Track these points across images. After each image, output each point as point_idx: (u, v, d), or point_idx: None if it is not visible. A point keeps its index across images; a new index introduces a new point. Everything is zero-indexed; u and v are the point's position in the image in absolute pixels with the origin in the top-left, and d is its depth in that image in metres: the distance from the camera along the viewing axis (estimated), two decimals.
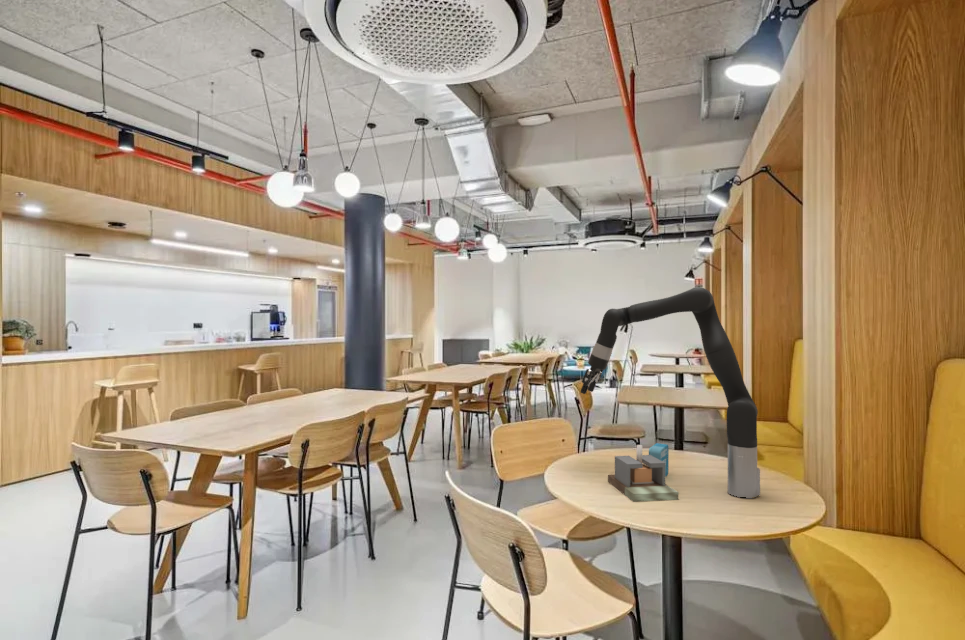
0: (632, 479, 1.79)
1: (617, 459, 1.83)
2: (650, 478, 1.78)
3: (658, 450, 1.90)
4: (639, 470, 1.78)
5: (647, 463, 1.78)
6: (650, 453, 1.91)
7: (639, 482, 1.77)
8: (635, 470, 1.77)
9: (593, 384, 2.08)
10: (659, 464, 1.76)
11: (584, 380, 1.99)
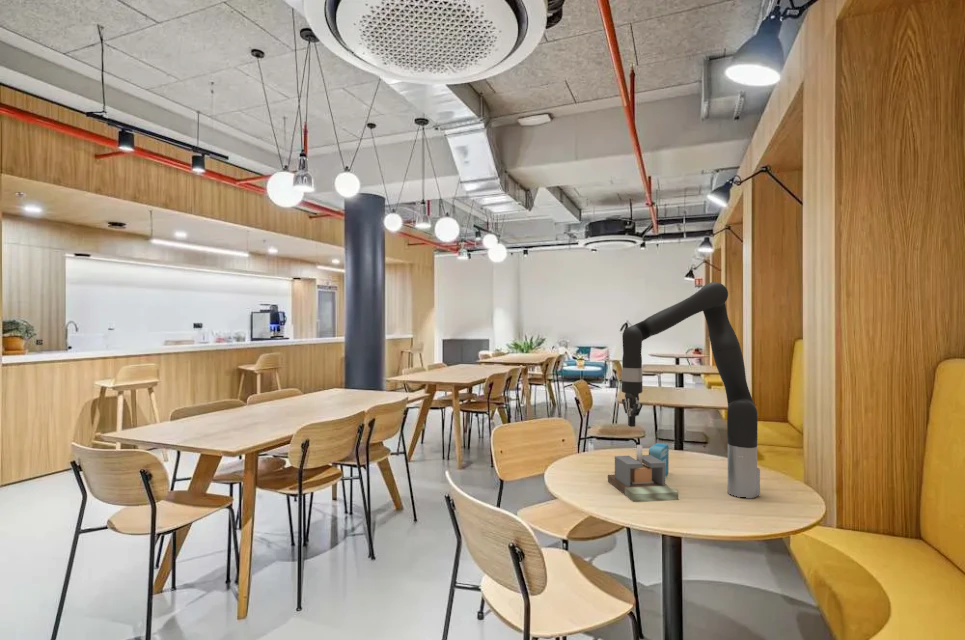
0: (632, 479, 1.79)
1: (617, 459, 1.83)
2: (650, 478, 1.78)
3: (658, 450, 1.90)
4: (639, 470, 1.78)
5: (647, 463, 1.78)
6: (650, 453, 1.91)
7: (639, 482, 1.77)
8: (635, 470, 1.77)
9: None
10: (659, 464, 1.76)
11: None
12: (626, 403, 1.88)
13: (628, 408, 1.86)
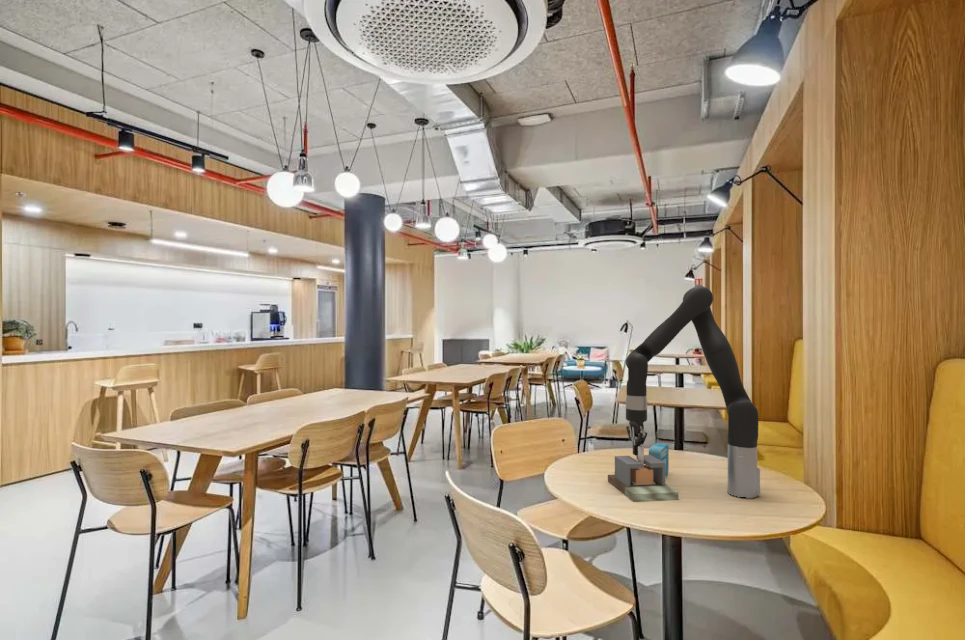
0: (633, 480, 1.78)
1: (617, 459, 1.83)
2: (652, 479, 1.77)
3: (658, 450, 1.90)
4: (641, 470, 1.76)
5: (647, 463, 1.78)
6: (650, 453, 1.91)
7: (640, 483, 1.76)
8: (636, 471, 1.76)
9: None
10: (659, 464, 1.76)
11: None
12: (630, 431, 1.84)
13: (633, 436, 1.82)
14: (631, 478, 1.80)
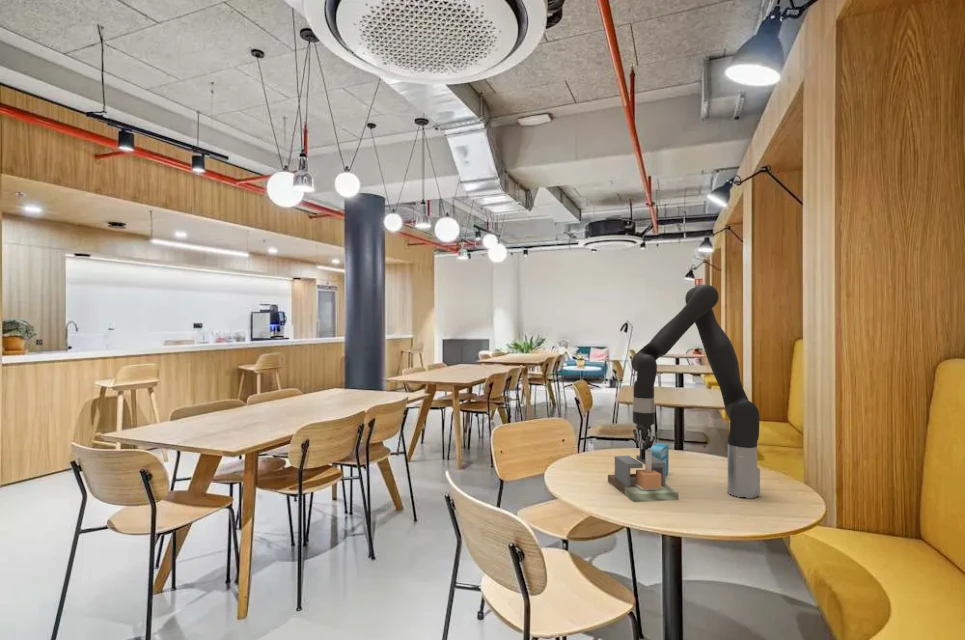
0: (641, 485, 1.72)
1: (617, 459, 1.83)
2: (660, 484, 1.71)
3: (658, 450, 1.90)
4: (648, 475, 1.71)
5: None
6: None
7: (648, 488, 1.71)
8: (644, 476, 1.71)
9: None
10: (659, 464, 1.76)
11: None
12: (638, 434, 1.78)
13: (640, 440, 1.77)
14: (638, 483, 1.74)
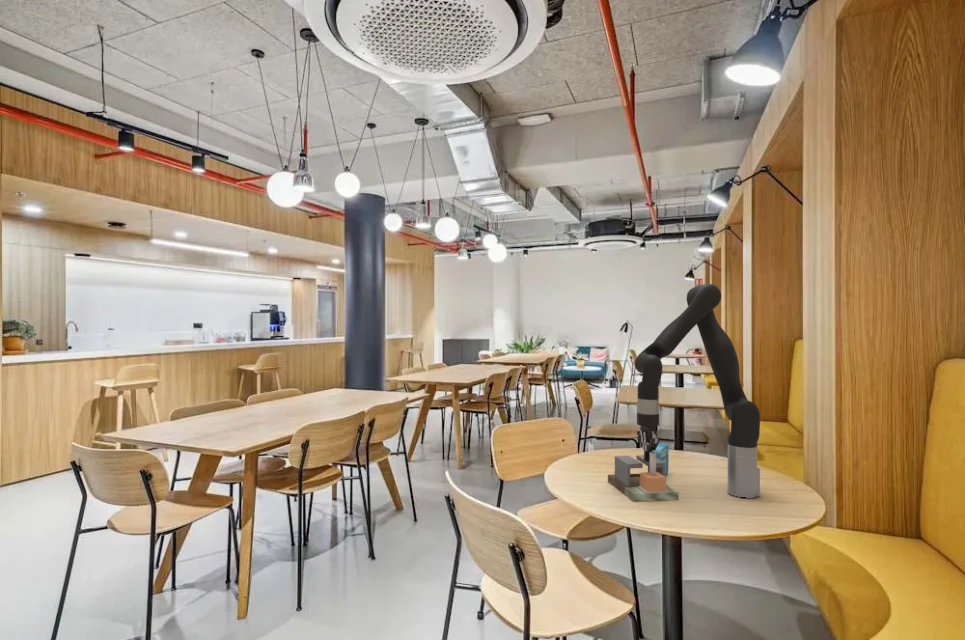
0: (645, 488, 1.69)
1: (617, 459, 1.83)
2: (664, 487, 1.68)
3: (658, 450, 1.90)
4: (653, 478, 1.68)
5: (647, 463, 1.78)
6: None
7: (653, 491, 1.68)
8: (648, 479, 1.67)
9: None
10: (659, 464, 1.76)
11: None
12: (642, 436, 1.75)
13: (644, 442, 1.74)
14: (642, 486, 1.71)
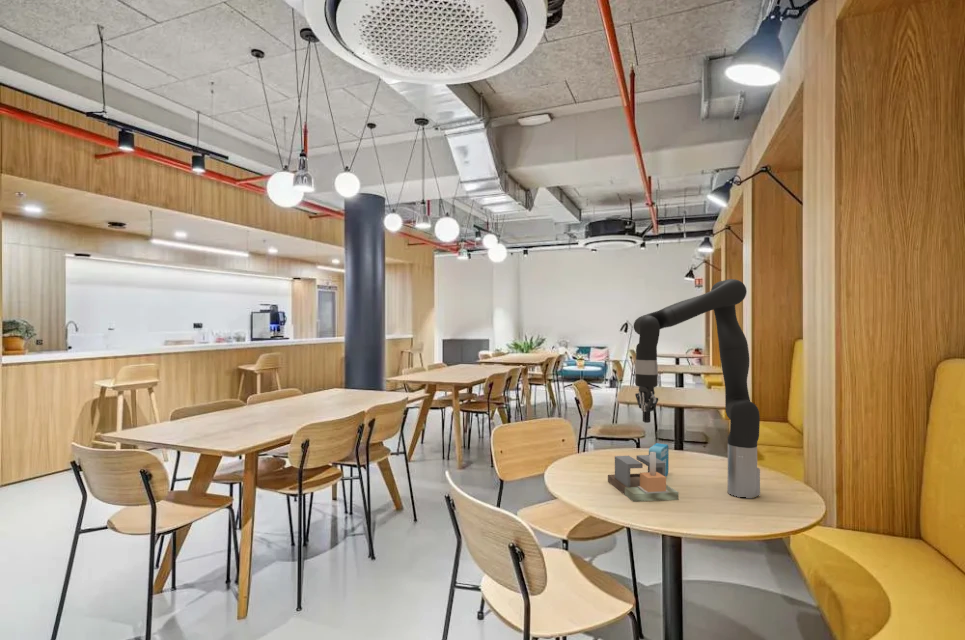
0: (645, 488, 1.69)
1: (617, 459, 1.83)
2: (664, 487, 1.68)
3: (658, 450, 1.90)
4: (653, 478, 1.68)
5: (647, 463, 1.78)
6: None
7: (653, 491, 1.68)
8: (648, 479, 1.67)
9: None
10: (659, 464, 1.76)
11: None
12: (640, 397, 1.76)
13: (643, 403, 1.75)
14: (642, 486, 1.71)
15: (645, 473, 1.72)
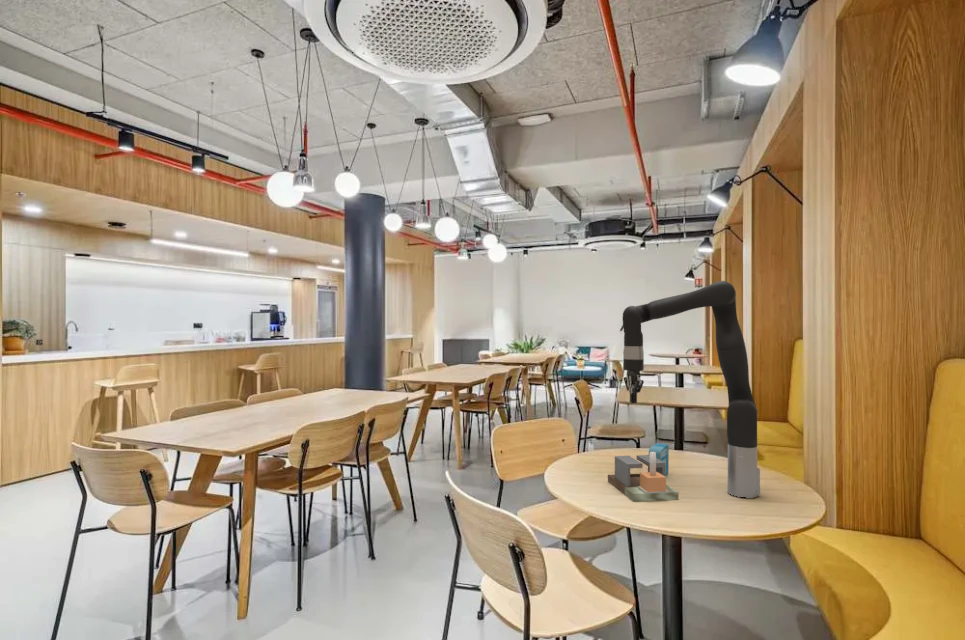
0: (645, 488, 1.69)
1: (617, 459, 1.83)
2: (664, 487, 1.68)
3: (658, 450, 1.90)
4: (653, 478, 1.68)
5: (647, 463, 1.78)
6: None
7: (653, 491, 1.68)
8: (648, 479, 1.67)
9: None
10: (659, 464, 1.76)
11: None
12: (628, 380, 1.93)
13: (630, 385, 1.92)
14: (642, 486, 1.71)
15: (645, 473, 1.72)
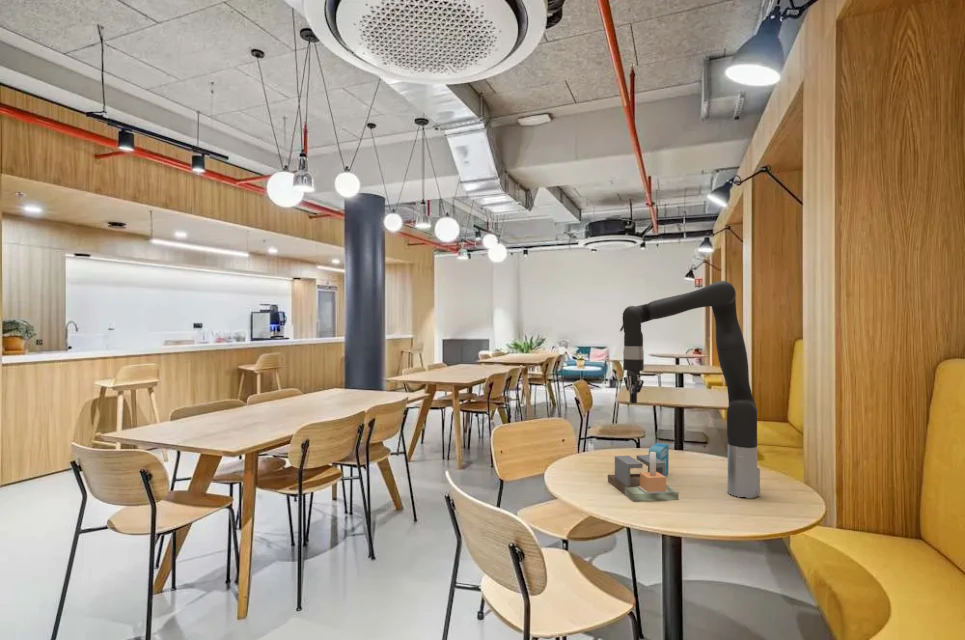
0: (645, 488, 1.69)
1: (617, 459, 1.83)
2: (664, 487, 1.68)
3: (658, 450, 1.90)
4: (653, 478, 1.68)
5: (647, 463, 1.78)
6: None
7: (653, 491, 1.68)
8: (648, 479, 1.67)
9: None
10: (659, 464, 1.76)
11: None
12: (628, 380, 1.93)
13: (630, 385, 1.92)
14: (642, 486, 1.71)
15: (645, 473, 1.72)
